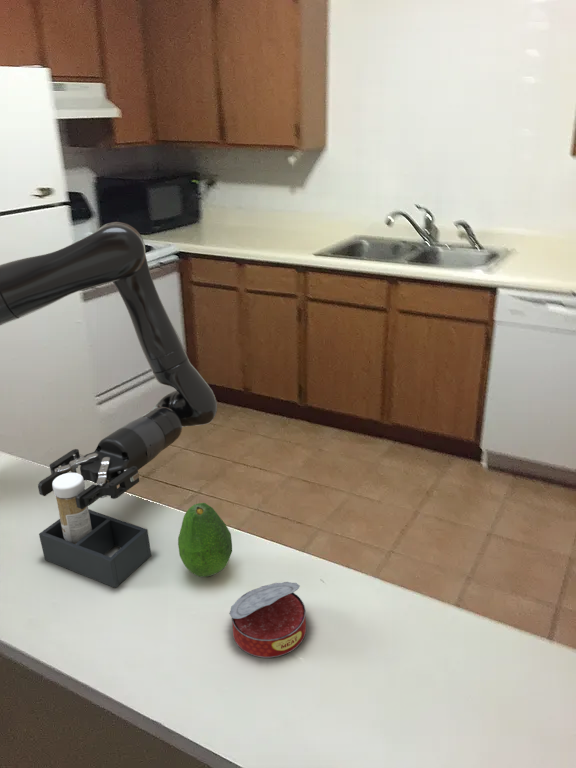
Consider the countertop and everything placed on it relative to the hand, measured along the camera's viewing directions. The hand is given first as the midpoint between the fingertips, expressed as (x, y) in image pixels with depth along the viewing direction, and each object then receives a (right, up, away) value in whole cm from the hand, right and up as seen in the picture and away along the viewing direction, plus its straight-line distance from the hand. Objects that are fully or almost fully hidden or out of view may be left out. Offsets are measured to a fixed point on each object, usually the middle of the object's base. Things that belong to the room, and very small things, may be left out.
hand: (59, 496), depth 100 cm
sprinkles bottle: (+1, -10, +6) cm, 12 cm away
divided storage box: (+4, -10, +5) cm, 12 cm away
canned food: (+32, -16, -10) cm, 37 cm away
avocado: (+22, -12, +1) cm, 25 cm away
